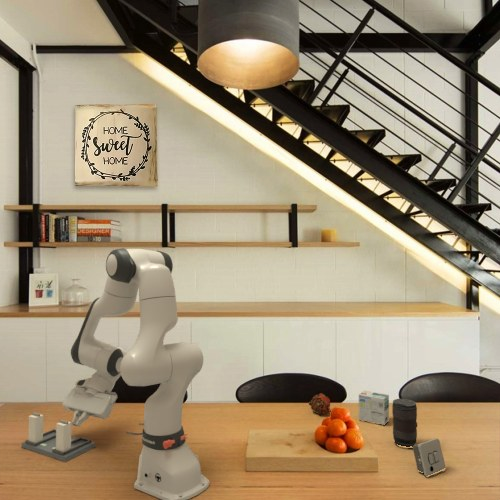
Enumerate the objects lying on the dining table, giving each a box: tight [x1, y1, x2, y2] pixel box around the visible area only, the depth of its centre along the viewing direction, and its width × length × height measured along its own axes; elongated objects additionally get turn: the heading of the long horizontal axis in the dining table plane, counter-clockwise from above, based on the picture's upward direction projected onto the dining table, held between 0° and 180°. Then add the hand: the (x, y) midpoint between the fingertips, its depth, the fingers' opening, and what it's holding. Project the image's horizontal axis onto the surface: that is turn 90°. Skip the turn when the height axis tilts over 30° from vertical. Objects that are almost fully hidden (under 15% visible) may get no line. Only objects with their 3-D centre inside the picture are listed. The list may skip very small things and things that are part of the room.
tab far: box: [27, 412, 44, 443], centre depth 145 cm, size 4×3×10 cm
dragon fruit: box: [308, 392, 331, 416], centre depth 179 cm, size 8×8×12 cm
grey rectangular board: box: [21, 428, 96, 463], centre depth 145 cm, size 22×12×2 cm, turn 62°
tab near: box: [55, 419, 72, 452], centre depth 139 cm, size 4×3×10 cm
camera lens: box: [391, 398, 418, 447], centre depth 149 cm, size 8×8×15 cm
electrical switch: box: [412, 437, 447, 476], centre depth 131 cm, size 9×5×9 cm, turn 121°
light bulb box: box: [358, 390, 390, 426], centre depth 170 cm, size 11×7×11 cm, turn 58°
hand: (74, 425), depth 144 cm, fingers closed
